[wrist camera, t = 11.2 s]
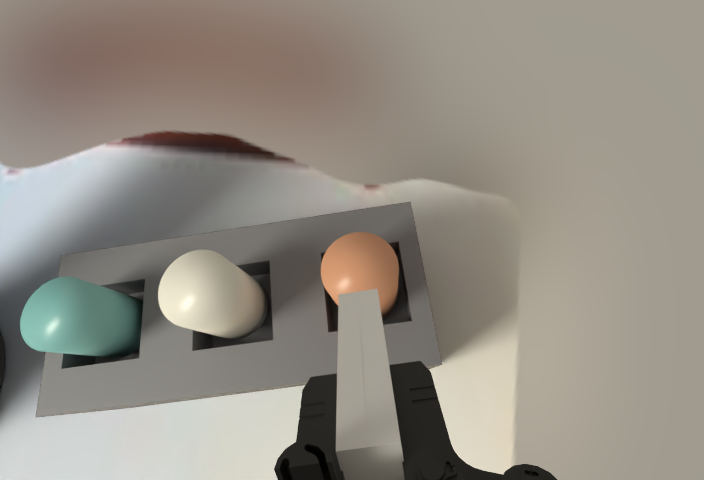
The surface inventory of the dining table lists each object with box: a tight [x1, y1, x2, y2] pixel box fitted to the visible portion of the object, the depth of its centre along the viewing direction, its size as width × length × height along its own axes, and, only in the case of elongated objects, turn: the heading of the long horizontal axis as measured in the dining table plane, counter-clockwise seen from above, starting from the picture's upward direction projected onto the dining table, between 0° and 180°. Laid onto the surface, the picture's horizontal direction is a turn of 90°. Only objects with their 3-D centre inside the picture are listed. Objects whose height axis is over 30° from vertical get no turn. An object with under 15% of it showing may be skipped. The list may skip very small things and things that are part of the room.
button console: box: [36, 202, 442, 417], centre depth 30 cm, size 26×11×9 cm, turn 97°
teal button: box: [20, 276, 143, 358], centre depth 25 cm, size 4×4×6 cm
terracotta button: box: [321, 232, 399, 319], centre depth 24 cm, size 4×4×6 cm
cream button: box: [158, 250, 269, 339], centre depth 24 cm, size 4×4×6 cm
